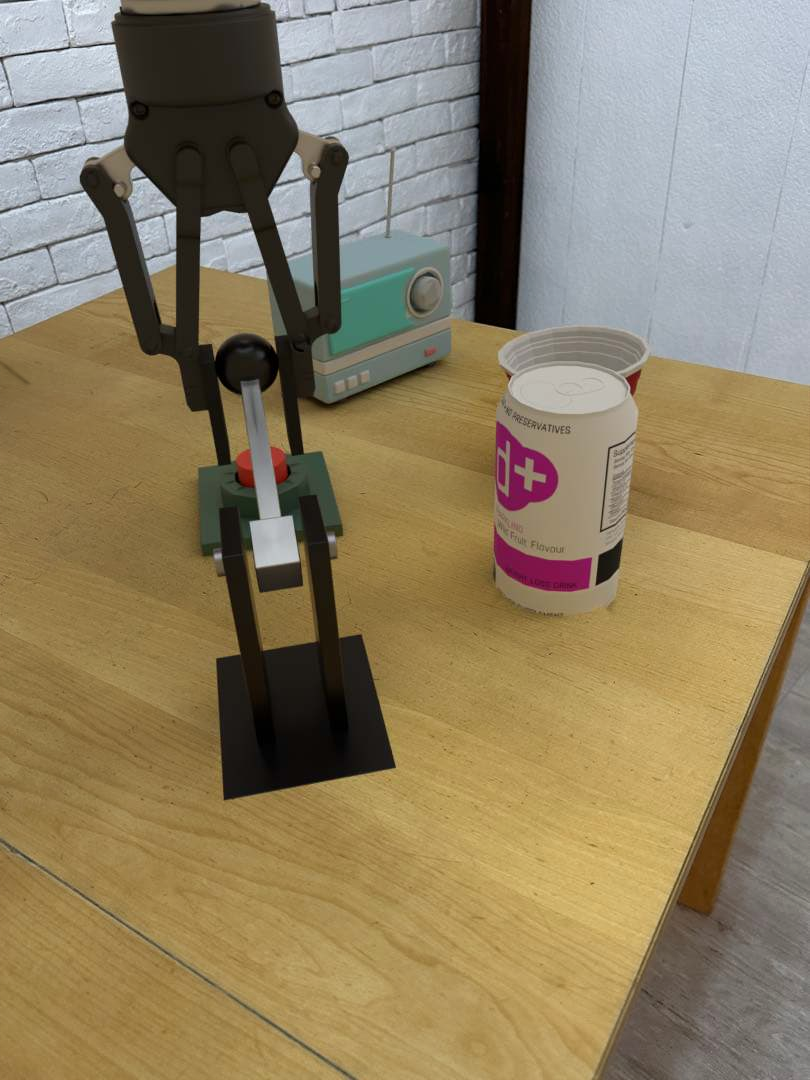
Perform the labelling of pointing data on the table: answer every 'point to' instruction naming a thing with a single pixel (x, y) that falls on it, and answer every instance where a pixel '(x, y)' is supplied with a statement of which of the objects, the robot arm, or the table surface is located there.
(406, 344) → the radio
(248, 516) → the button box
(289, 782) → the bracket
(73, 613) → the table surface
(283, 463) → the button
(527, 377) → the supplement can
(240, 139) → the robot arm
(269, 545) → the lever
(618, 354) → the plastic cup
